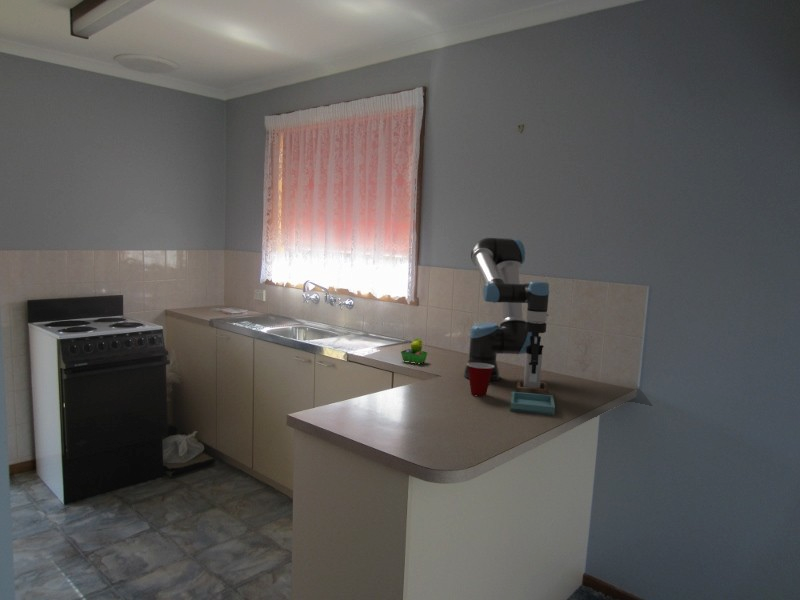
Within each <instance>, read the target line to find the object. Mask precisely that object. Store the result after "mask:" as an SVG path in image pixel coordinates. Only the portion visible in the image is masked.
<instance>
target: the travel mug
mask: <svg viewBox="0 0 800 600" xmlns="http://www.w3.org/2000/svg"><path fill="white" fill-rule="evenodd" d="M530 346H531V345H529V346H526V354H524V355H525V360H524V370H523V371H524V372H523V373H524V374H523V381H524V386H523V387H526V388H537V389H540V382H541V375H542V361H543V349H544V347H545V346H544V345H542V344H540V348H539V351H538V368H537V382H531V381H529V377H530V365H529V363H531V352H532V348H531V347H530Z"/></svg>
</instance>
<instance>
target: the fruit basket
mask: <svg viewBox="0 0 800 600" xmlns="http://www.w3.org/2000/svg"><path fill="white" fill-rule="evenodd" d="M422 343H423V341H422V340H421V338H419V337H416V338H415V339H414V340H413V341H412V342H411V344H410V347H411V349H410V348H407V349H403V350H401V351H400V354H401V358H402V361H403V360H404V361H409V362H415V363H422V364H424V363H423V362H426V359H427V356H428V353H429V351H424V350H423V344H422Z"/></svg>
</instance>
